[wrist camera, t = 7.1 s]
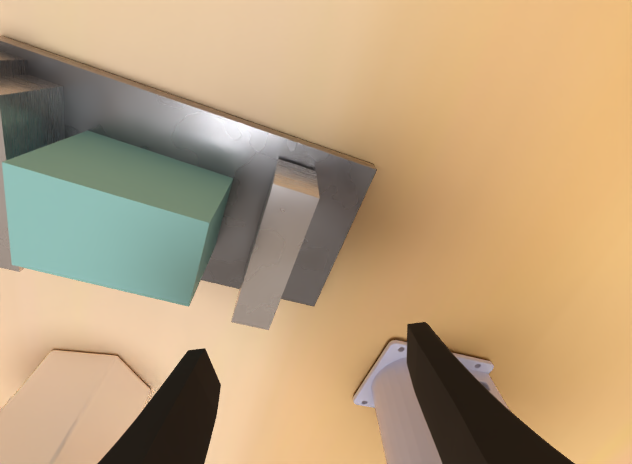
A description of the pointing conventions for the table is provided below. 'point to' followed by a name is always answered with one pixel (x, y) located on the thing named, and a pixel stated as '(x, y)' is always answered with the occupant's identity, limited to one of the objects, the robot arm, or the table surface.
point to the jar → (70, 410)
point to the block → (114, 215)
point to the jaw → (276, 243)
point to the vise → (179, 155)
